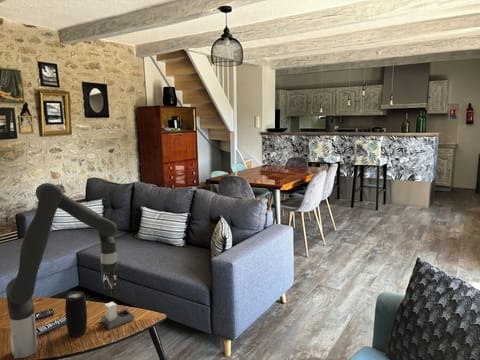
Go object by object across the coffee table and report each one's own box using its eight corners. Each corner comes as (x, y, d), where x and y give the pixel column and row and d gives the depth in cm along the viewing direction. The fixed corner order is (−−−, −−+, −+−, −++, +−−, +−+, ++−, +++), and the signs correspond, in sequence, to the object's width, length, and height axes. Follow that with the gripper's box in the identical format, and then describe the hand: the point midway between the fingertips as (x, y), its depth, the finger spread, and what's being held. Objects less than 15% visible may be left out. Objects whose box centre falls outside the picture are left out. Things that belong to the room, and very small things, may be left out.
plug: (109, 326, 180) (108, 307, 179) (105, 322, 183) (104, 304, 182) (119, 322, 184) (118, 303, 182) (115, 319, 186) (114, 300, 185)
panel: (109, 329, 177) (108, 324, 177) (101, 321, 184) (100, 316, 184) (134, 320, 186) (133, 315, 185) (125, 312, 193) (125, 307, 193)
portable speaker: (91, 329, 177) (89, 291, 174) (78, 339, 168) (76, 300, 165) (76, 326, 179) (74, 289, 177) (62, 337, 170) (60, 297, 168)
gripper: (95, 258, 181) (96, 289, 183) (107, 266, 171) (108, 299, 173) (110, 255, 186) (111, 285, 188) (122, 262, 176) (123, 294, 178)
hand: (109, 292), depth 181 cm, fingers open, 8 cm apart
